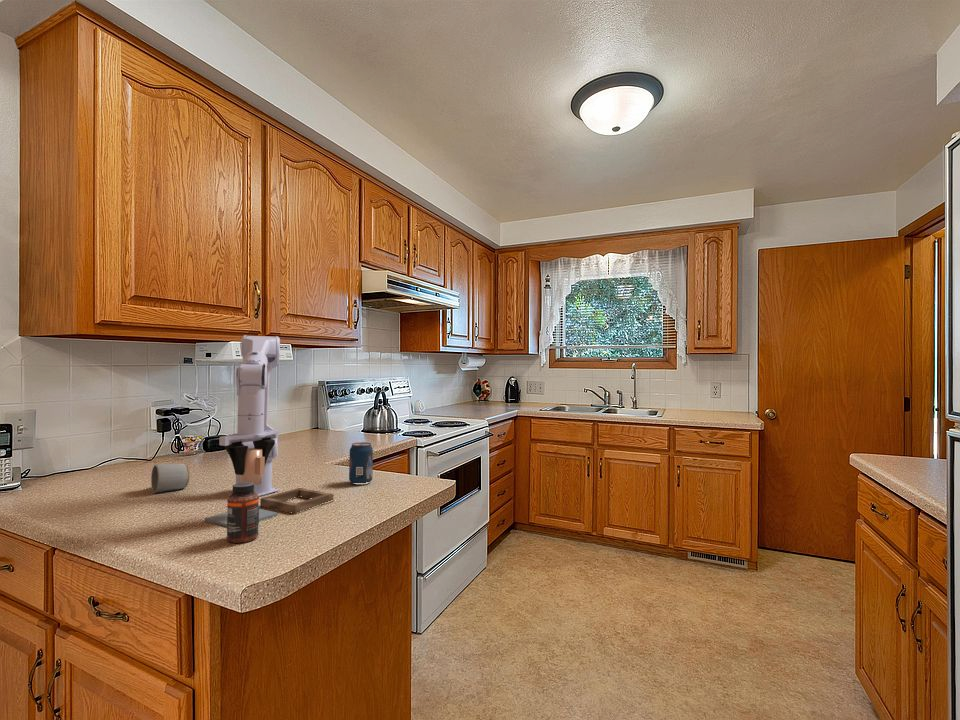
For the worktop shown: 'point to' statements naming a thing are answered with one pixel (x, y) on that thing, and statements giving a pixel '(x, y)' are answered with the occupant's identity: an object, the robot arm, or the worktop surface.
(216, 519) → the mat
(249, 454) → the peach capsule with nub
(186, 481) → the grey cylinder
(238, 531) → the supplement bottle
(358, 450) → the soda can
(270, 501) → the frame
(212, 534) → the worktop surface
